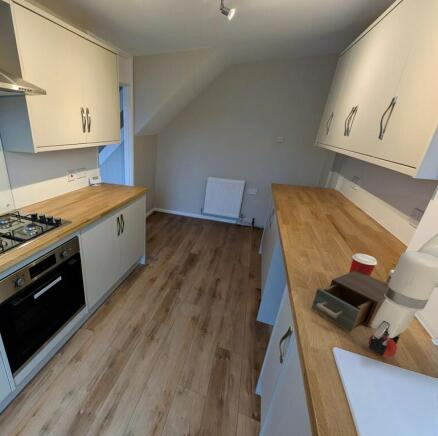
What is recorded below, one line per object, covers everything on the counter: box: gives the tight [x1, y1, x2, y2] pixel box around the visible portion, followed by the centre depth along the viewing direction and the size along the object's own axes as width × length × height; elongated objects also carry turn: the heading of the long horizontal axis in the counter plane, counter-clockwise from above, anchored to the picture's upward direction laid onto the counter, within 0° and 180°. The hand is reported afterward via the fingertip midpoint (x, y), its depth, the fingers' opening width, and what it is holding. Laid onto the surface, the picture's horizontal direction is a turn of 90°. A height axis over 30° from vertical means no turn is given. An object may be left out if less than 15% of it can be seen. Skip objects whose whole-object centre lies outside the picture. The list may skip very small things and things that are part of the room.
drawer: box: [311, 284, 374, 333], centre depth 82 cm, size 19×13×8 cm, turn 115°
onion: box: [368, 334, 398, 358], centre depth 69 cm, size 6×6×8 cm
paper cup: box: [348, 253, 378, 276], centre depth 99 cm, size 8×8×14 cm
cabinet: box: [329, 270, 388, 328], centre depth 87 cm, size 16×14×10 cm
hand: (381, 347), depth 69 cm, fingers closed on onion, 5 cm apart
